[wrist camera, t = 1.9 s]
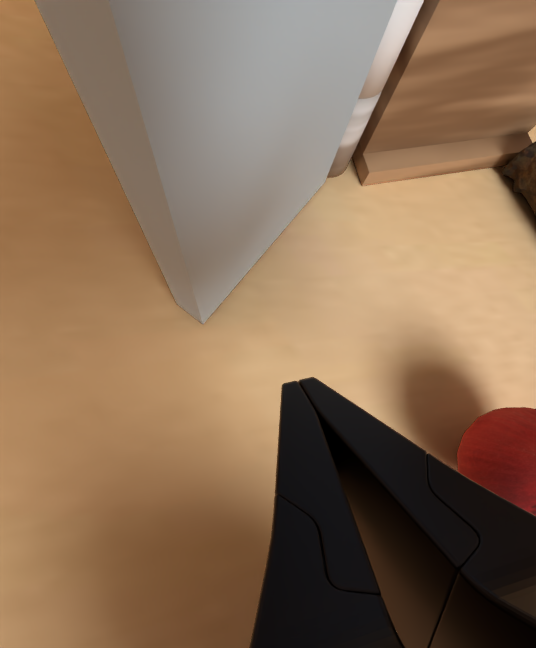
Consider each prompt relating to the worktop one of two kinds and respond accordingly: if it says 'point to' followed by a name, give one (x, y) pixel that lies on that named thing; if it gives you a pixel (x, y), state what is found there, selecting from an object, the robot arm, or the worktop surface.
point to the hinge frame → (449, 95)
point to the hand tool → (524, 173)
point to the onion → (502, 455)
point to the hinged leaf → (223, 114)
